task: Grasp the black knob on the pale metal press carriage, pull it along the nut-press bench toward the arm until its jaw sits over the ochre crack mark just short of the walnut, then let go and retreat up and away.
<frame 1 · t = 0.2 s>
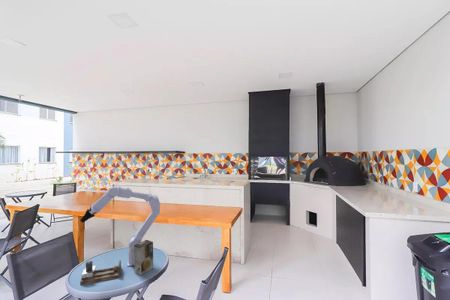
hand: (83, 219, 128), 31 cm above the table, tool tilted 45°, fingers open, 7 cm apart
press carriage: (89, 267, 120), point 6 cm above the table, slide at 0.0 cm
nut press: (102, 275, 122), on the table
coffee box: (144, 270, 128), on the table
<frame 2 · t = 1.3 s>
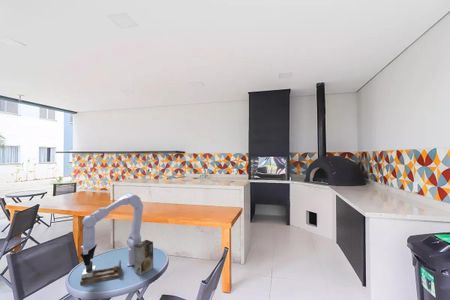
hand: (89, 261, 120), 9 cm above the table, tool pointing down, fingers open, 7 cm apart
nothing on the table moved.
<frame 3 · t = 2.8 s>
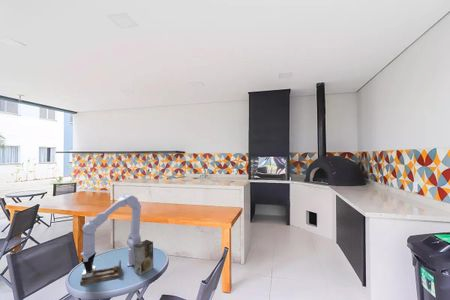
hand: (89, 268, 120), 5 cm above the table, tool pointing down, fingers closed on press carriage, 3 cm apart
press carriage: (89, 267, 120), point 6 cm above the table, slide at 0.0 cm, touching gripper
everything else where it was.
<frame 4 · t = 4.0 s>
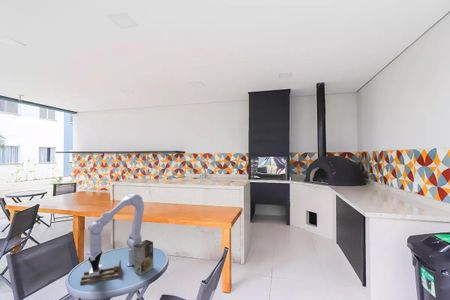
hand: (95, 267, 121), 5 cm above the table, tool pointing down, fingers closed on press carriage, 3 cm apart
press carriage: (95, 266, 121), point 6 cm above the table, slide at 3.2 cm, touching gripper
everything else where it was.
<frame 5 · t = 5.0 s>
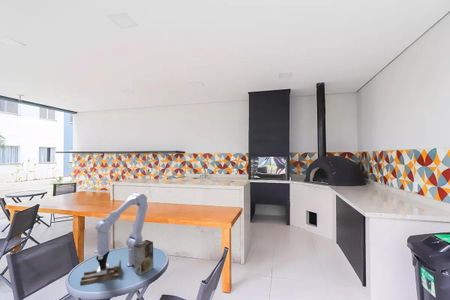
hand: (103, 266, 122), 5 cm above the table, tool pointing down, fingers closed on press carriage, 3 cm apart
press carriage: (103, 265, 122), point 6 cm above the table, slide at 6.9 cm, touching gripper
everything else where it was.
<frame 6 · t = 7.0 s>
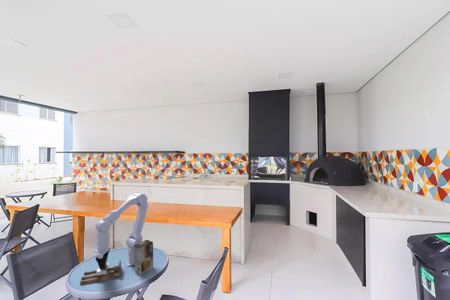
hand: (103, 265, 123), 6 cm above the table, tool pointing down, fingers open, 7 cm apart
press carriage: (103, 265, 122), point 6 cm above the table, slide at 6.9 cm
everything else where it was.
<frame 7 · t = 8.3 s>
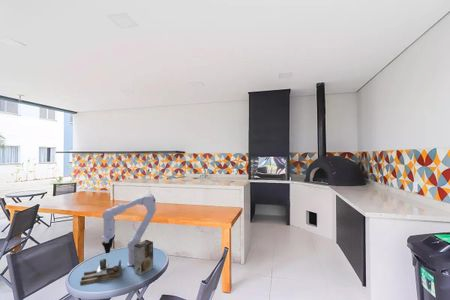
hand: (108, 250, 134), 9 cm above the table, tool pointing down, fingers open, 7 cm apart
nothing on the table moved.
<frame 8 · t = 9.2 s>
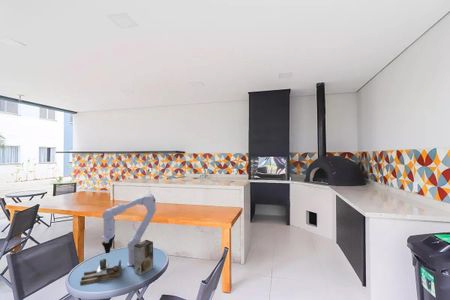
hand: (108, 250, 134), 9 cm above the table, tool pointing down, fingers open, 7 cm apart
nothing on the table moved.
at the end: press carriage slide at 6.9 cm; the gripper is holding nothing; coffee box moved 0.2 cm from its start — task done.
